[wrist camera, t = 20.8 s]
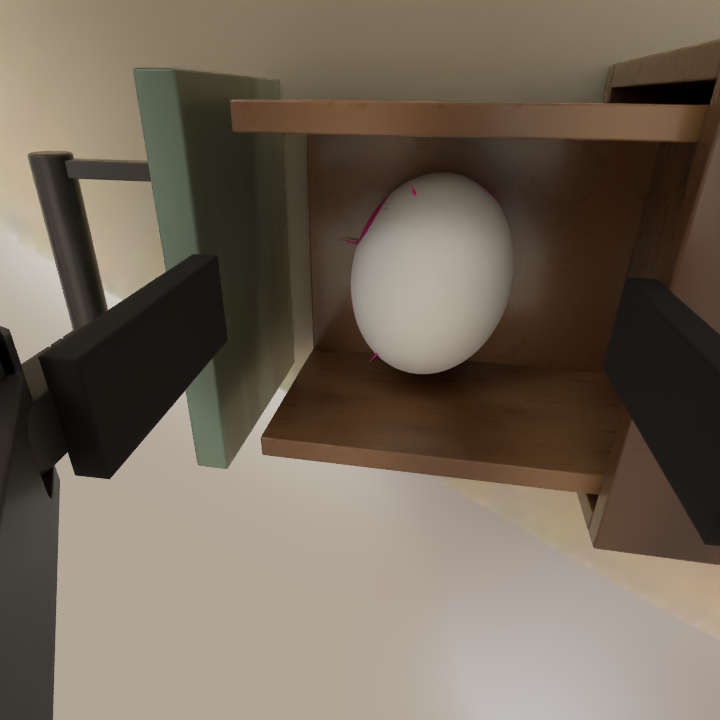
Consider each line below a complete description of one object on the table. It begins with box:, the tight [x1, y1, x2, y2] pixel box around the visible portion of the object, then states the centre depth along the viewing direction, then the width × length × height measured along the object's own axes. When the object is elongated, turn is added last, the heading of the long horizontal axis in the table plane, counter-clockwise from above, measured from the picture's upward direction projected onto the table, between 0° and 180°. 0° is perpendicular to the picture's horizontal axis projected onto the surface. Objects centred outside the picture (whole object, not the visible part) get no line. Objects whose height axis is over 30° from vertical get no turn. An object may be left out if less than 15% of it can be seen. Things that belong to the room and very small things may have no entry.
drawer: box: [28, 68, 710, 495], centre depth 19 cm, size 23×13×9 cm, turn 90°
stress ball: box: [337, 172, 515, 374], centre depth 20 cm, size 8×8×7 cm
